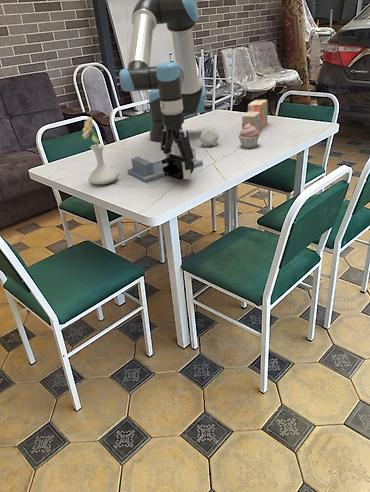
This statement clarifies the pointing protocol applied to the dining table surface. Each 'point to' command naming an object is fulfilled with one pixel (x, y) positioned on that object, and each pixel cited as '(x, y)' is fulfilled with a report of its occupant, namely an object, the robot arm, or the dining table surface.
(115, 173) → the flower in vase
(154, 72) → the robot arm
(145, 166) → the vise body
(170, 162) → the end cap
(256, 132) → the cupcake
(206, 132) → the die
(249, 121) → the stack of blocks
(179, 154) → the block
